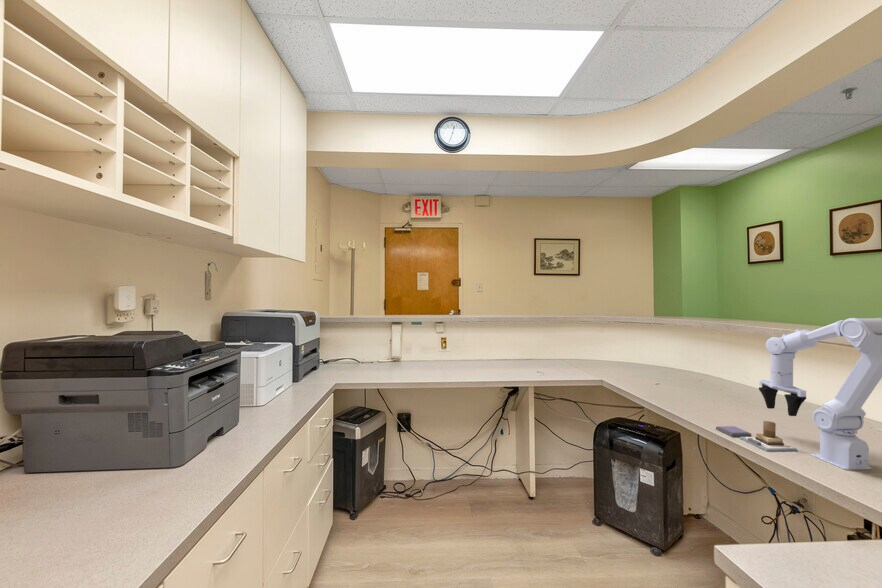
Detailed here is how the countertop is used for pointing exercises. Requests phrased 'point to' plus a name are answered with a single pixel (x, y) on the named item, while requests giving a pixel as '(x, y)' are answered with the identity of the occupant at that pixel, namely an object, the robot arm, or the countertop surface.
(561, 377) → the countertop surface
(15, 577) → the countertop surface
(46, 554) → the countertop surface
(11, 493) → the countertop surface
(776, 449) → the clipboard
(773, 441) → the stamp
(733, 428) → the ink pad
